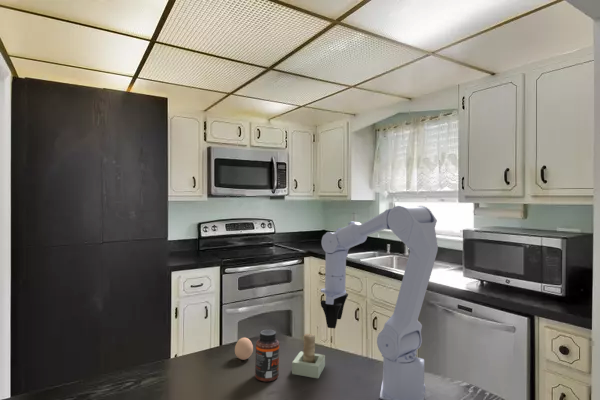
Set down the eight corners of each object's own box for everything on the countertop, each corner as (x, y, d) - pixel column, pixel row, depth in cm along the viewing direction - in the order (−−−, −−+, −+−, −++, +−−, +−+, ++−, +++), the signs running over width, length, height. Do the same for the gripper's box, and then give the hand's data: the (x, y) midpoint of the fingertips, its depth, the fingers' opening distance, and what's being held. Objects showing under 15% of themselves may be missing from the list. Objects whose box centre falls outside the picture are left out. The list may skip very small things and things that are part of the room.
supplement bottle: (275, 384, 86) (276, 337, 86) (251, 381, 87) (252, 335, 87) (281, 372, 92) (282, 329, 92) (259, 369, 93) (260, 326, 93)
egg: (235, 355, 102) (235, 334, 102) (253, 354, 102) (253, 334, 102) (233, 363, 97) (234, 341, 97) (252, 362, 97) (253, 341, 97)
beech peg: (315, 368, 95) (316, 334, 95) (312, 373, 92) (313, 338, 92) (304, 366, 96) (305, 333, 95) (301, 371, 93) (302, 337, 93)
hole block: (324, 366, 96) (325, 355, 96) (318, 378, 89) (318, 366, 89) (300, 362, 98) (300, 351, 98) (292, 373, 91) (292, 362, 91)
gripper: (327, 268, 108) (326, 313, 108) (314, 278, 94) (313, 330, 94) (350, 270, 106) (349, 316, 106) (341, 281, 92) (340, 333, 92)
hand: (334, 323), depth 100 cm, fingers open, 7 cm apart
